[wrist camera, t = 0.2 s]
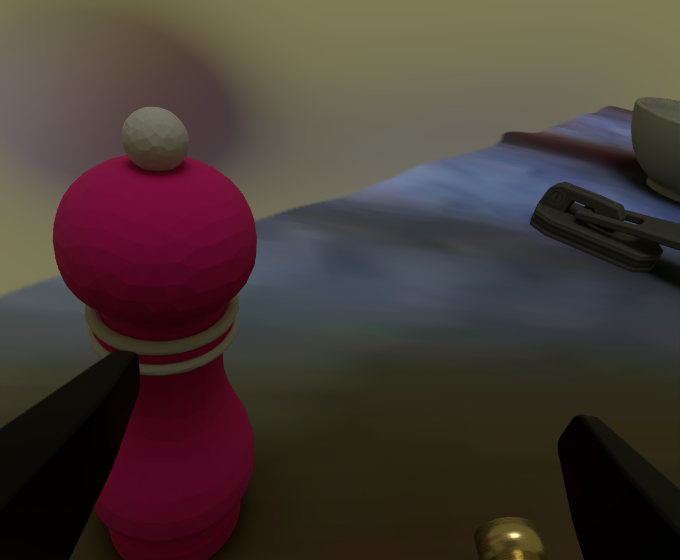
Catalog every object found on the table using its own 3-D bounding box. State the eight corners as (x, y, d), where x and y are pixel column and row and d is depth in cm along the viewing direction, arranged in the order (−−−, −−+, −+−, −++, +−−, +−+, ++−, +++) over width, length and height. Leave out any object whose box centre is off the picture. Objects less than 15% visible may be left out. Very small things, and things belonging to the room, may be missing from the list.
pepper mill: (266, 464, 27) (310, 103, 16) (221, 605, 21) (240, 187, 10) (143, 434, 27) (101, 60, 16) (64, 566, 21) (-91, 115, 10)
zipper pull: (792, 278, 44) (540, 174, 56) (746, 332, 47) (519, 224, 60) (798, 251, 50) (569, 162, 62) (757, 301, 53) (548, 208, 66)
